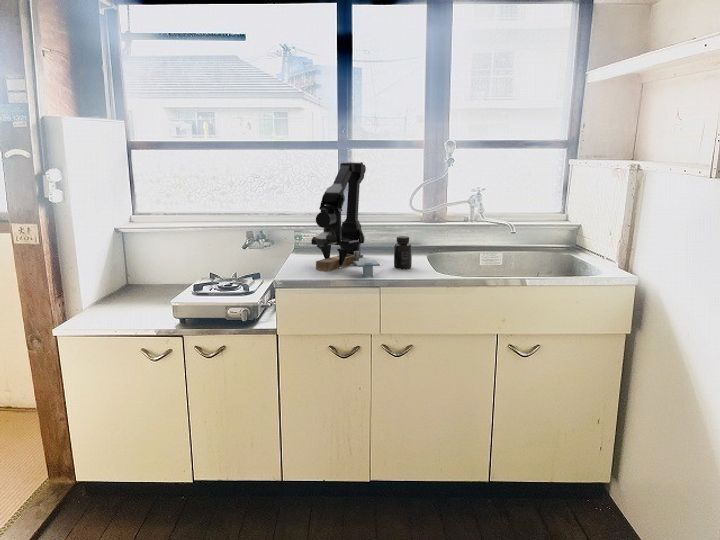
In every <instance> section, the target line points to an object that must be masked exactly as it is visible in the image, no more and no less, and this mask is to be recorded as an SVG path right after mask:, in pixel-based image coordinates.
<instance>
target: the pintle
mask: <svg viewBox="0 0 720 540" xmlns="http://www.w3.org/2000/svg"><path fill="white" fill-rule="evenodd" d="M354 261H360V257H359V251H354ZM353 265H354V266H356V265H355V264H353ZM356 267H357V266H356Z"/></svg>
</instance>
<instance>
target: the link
mask: <svg viewBox="0 0 720 540" xmlns="http://www.w3.org/2000/svg"><path fill="white" fill-rule="evenodd" d="M351 264H352V265H354V255H350V254H347V255H346V258H345V260H344V262H343V264H342V265H341V266H340V264H339V255H336V256H335V255H334V256H330V258H327V259H325V258H323V259H320V260H315V269H316V270H317V271H321V272H323V271H324V272H329V271H333V269H334V270H337V269H340V267H341V268H344V267H348V266H352V265H351Z"/></svg>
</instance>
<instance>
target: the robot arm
mask: <svg viewBox="0 0 720 540" xmlns="http://www.w3.org/2000/svg"><path fill="white" fill-rule="evenodd" d="M366 168H367V167H366V165H365V164H364V162H362V161H343V162H342V161H341V162H340V166H339V170H338V172H337V174H336V176H335V178H334V180H333V183H332V185H330V186H329V187H327V188H326V190H325V191H324V192H323V194H322V198H321V201H320V203H319V204H320V205H319V207H318V208H319V210H320V212H318V214H317V215H316V216H315V223H316V225H317V226H318V227H319V228H323V231H322V232H321V233H319V234H318V235H317V236H313V237H312V238H311V242H310V243H311V245H314V246H316V248H318V249H319V250H321V253H322V255H323V259H327V258H331V249H332V245H333V246H339V248H337V249H336V250H337V252H338V256H339V264H340V266H341V265H342V264H343V262H344V260H345V258H346V255H347V254H350V255H354V251H359V258H362V257H364V255H363V254H361V244H365V239H366V237H365V235H364V232H363V230H362V224H361V223H360V221H359V201H360V188H361V187H360V184H362V181H363V180H364V179H365V173H366V170H367V169H366ZM347 185H348V187H347V202H346V218H345V220H344V221H343V222H342V211H343V206H344V203H345V201H346V196H345V193H344V192H345V189H346V186H347Z"/></svg>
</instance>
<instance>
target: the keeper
mask: <svg viewBox="0 0 720 540" xmlns="http://www.w3.org/2000/svg"><path fill="white" fill-rule="evenodd" d="M354 264H355V265H356V267H358V268H362V276H363V275H364V276H365V277H364V276H363V277H364V278H368V277H367V276H373V277H374V267H380V266H381V265H380V264H381V263H379V262H378V261H377V260H375V259H373V260H372V259H370V260H359V261H354ZM354 264H353V265H354ZM355 265H354V266H355Z"/></svg>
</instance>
